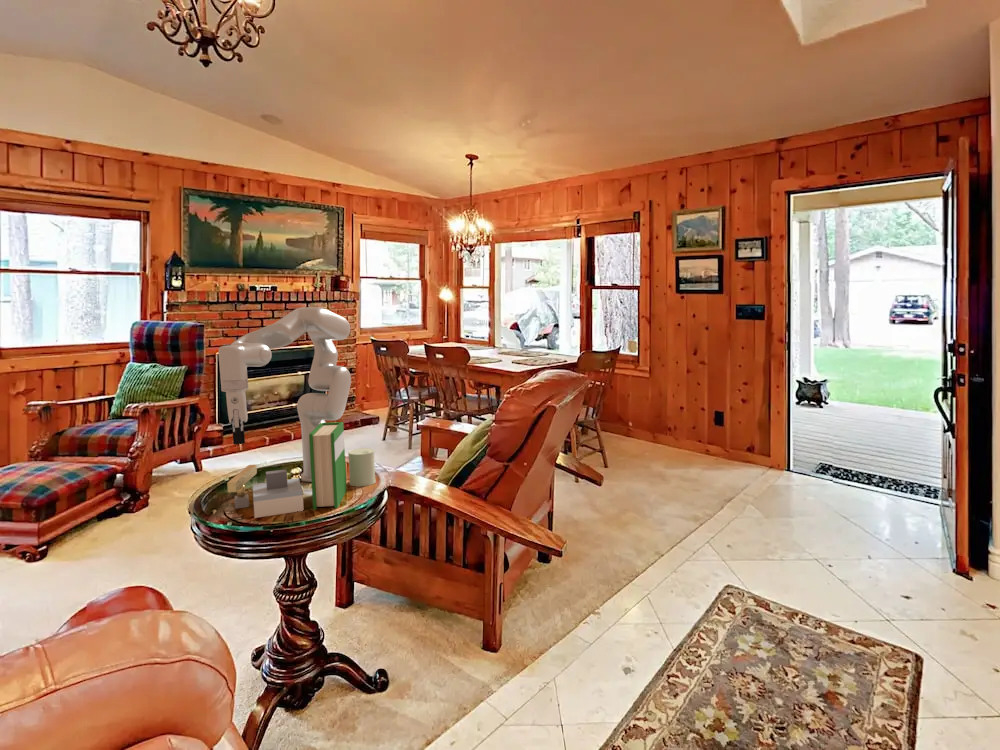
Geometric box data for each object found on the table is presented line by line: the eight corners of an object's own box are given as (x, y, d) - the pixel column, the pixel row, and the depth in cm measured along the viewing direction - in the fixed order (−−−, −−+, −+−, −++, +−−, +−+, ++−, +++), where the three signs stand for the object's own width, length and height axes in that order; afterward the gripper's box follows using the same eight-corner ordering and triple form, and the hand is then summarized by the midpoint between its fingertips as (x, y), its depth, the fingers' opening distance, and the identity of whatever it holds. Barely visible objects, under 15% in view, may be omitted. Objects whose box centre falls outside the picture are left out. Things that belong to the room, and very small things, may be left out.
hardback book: (337, 508, 176) (333, 433, 174) (313, 509, 176) (309, 434, 173) (346, 490, 194) (343, 422, 191) (324, 491, 193) (320, 422, 190)
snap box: (299, 495, 189) (298, 481, 188) (303, 510, 175) (302, 495, 174) (235, 504, 181) (234, 489, 180) (234, 521, 167) (233, 504, 166)
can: (362, 488, 196) (361, 454, 195) (343, 484, 201) (342, 451, 200) (381, 481, 204) (379, 448, 203) (362, 477, 209) (361, 445, 208)
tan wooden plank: (250, 484, 192) (249, 464, 191) (257, 483, 192) (256, 464, 191) (228, 504, 172) (227, 482, 171) (237, 503, 172) (235, 482, 171)
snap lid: (299, 482, 187) (297, 463, 186) (302, 495, 174) (301, 474, 173) (253, 488, 181) (251, 469, 180) (253, 501, 168) (252, 480, 168)
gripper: (247, 387, 168) (251, 447, 170) (248, 381, 181) (253, 437, 184) (219, 389, 165) (224, 450, 167) (223, 383, 179) (227, 439, 181)
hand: (239, 443), depth 175 cm, fingers closed
